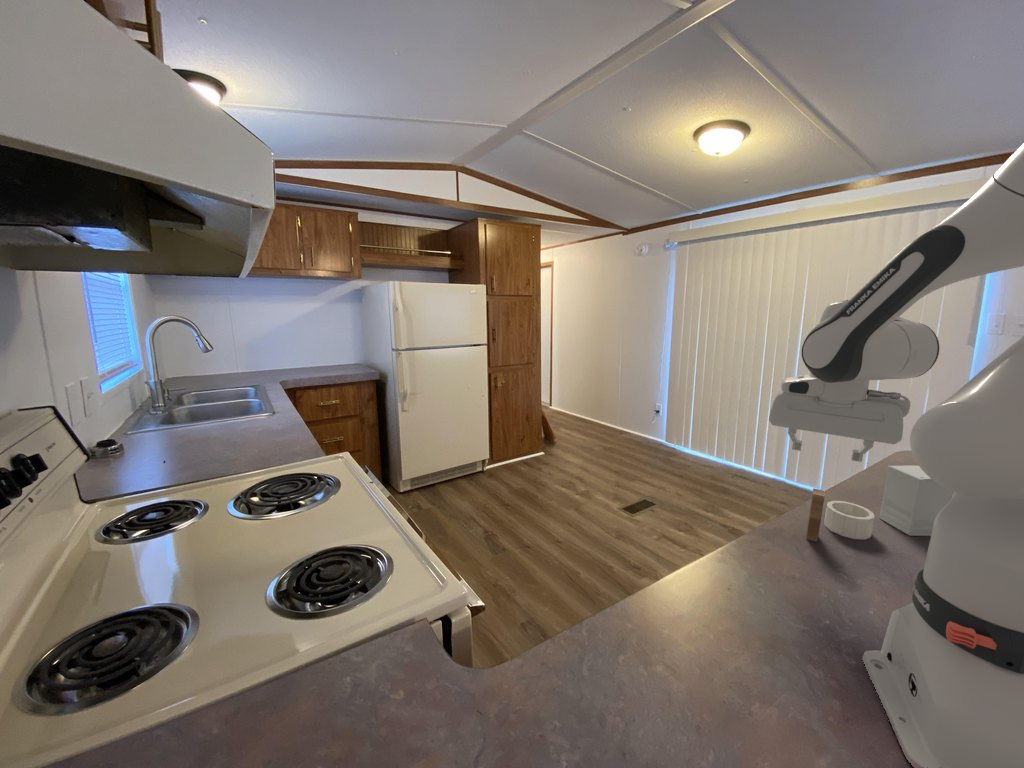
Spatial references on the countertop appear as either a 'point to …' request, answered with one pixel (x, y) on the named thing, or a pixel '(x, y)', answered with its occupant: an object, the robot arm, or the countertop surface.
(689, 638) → the countertop surface
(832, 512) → the faceted white cup
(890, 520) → the supplement box
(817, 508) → the brown rectangular block
